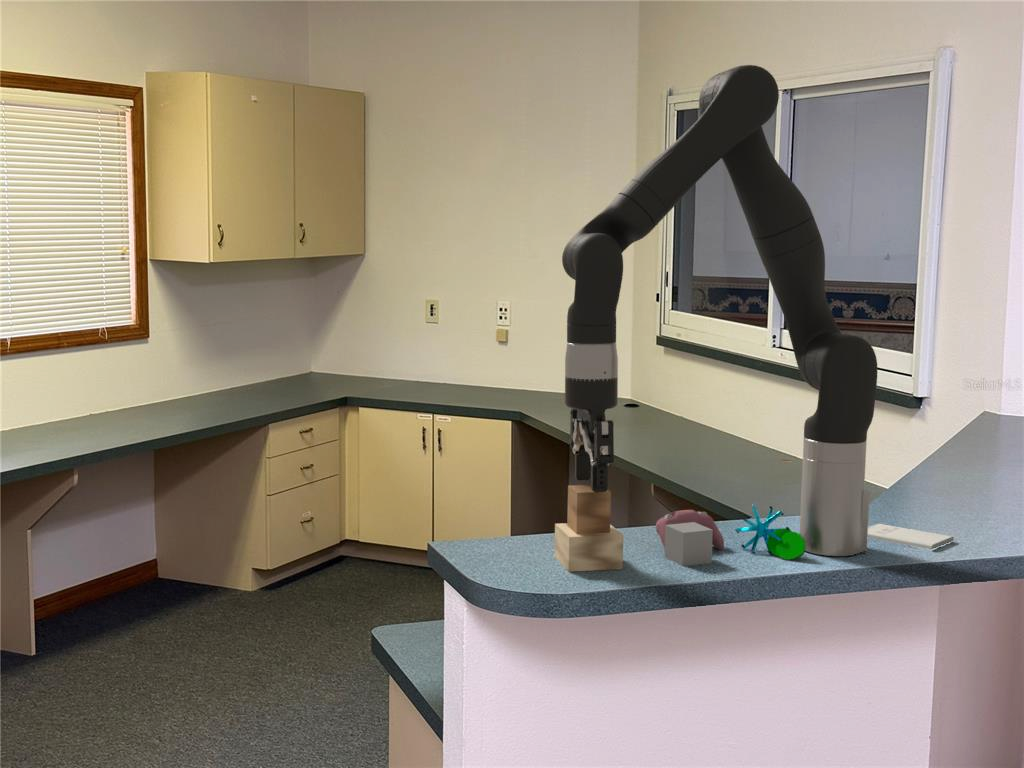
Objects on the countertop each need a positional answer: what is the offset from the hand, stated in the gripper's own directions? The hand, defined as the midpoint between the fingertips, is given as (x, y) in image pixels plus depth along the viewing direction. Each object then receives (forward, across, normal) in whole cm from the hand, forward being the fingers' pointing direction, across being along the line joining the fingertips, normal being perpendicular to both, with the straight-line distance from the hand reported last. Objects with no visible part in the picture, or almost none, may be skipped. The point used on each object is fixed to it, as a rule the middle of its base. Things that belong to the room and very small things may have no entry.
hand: (590, 485), depth 160 cm
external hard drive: (+13, +5, -54) cm, 55 cm away
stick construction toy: (+12, +1, -30) cm, 32 cm away
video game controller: (+12, +5, -17) cm, 22 cm away
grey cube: (+12, -1, -15) cm, 19 cm away
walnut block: (+6, 0, 0) cm, 6 cm away
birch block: (+11, 0, 0) cm, 11 cm away
